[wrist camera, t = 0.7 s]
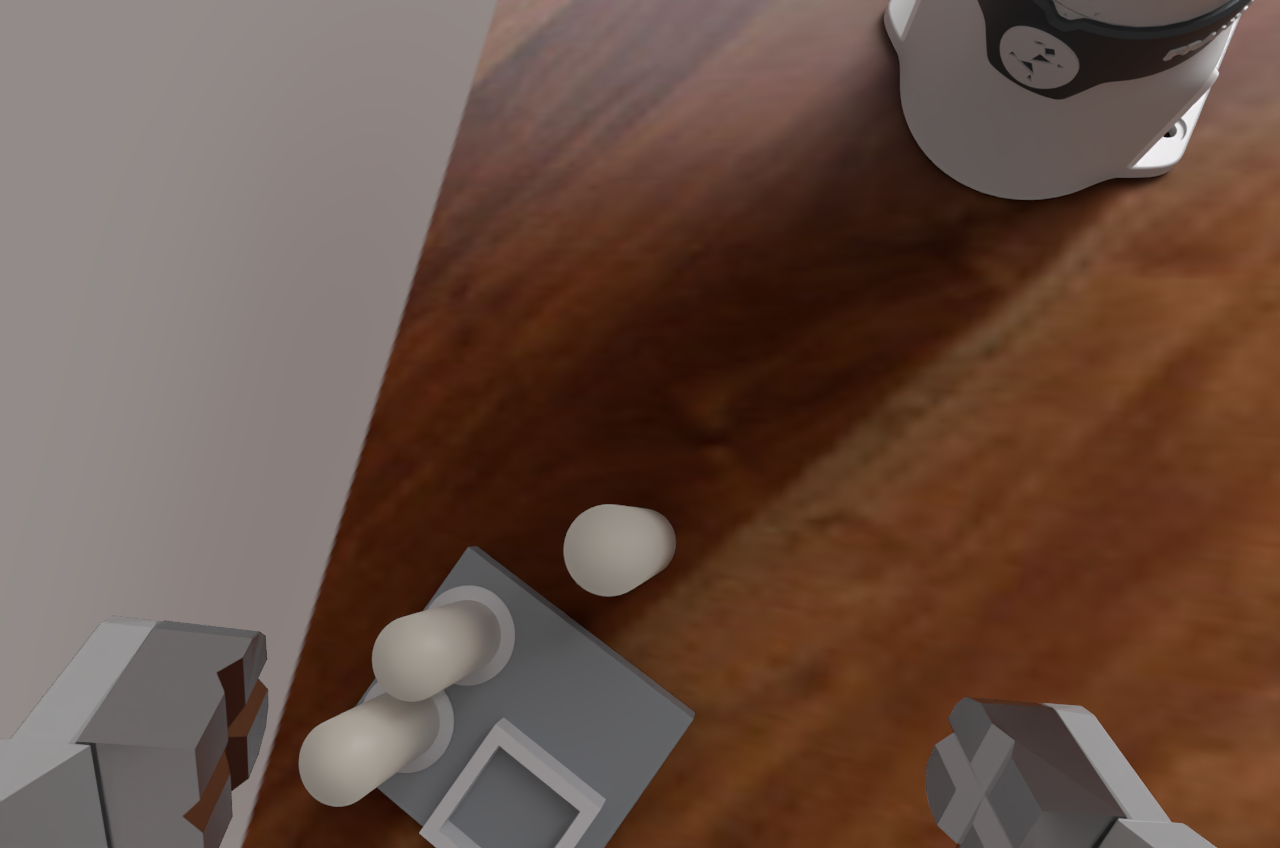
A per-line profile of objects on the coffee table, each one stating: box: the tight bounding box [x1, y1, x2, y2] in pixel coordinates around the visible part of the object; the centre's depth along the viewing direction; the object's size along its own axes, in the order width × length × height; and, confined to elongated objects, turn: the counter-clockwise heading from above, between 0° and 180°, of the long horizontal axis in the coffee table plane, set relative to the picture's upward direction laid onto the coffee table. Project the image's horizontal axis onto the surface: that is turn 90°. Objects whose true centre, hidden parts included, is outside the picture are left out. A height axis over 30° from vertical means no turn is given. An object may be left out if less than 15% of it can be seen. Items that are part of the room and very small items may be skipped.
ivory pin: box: [564, 504, 676, 596], centre depth 41 cm, size 4×4×12 cm
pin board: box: [299, 546, 695, 848], centre depth 42 cm, size 14×16×10 cm
